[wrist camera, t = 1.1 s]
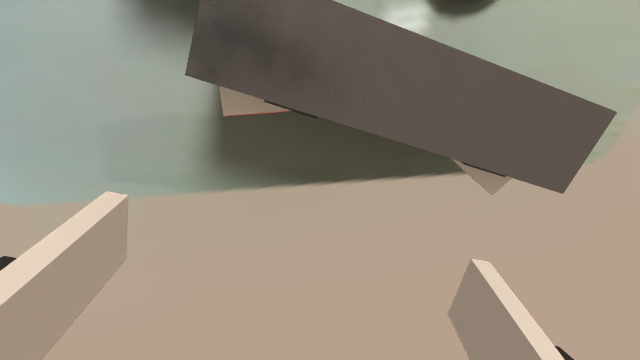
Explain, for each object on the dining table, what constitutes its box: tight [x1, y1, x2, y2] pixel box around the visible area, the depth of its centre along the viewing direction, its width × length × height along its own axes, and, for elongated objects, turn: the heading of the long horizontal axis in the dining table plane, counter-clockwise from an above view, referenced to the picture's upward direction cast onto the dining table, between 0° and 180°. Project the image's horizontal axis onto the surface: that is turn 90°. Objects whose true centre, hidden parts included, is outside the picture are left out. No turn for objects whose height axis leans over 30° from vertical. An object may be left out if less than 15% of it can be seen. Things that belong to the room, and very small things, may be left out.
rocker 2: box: [449, 158, 511, 195], centre depth 39 cm, size 12×3×7 cm, turn 49°
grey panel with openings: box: [185, 0, 617, 193], centre depth 36 cm, size 34×8×17 cm, turn 71°
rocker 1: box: [219, 86, 291, 116], centre depth 35 cm, size 12×3×7 cm, turn 93°
